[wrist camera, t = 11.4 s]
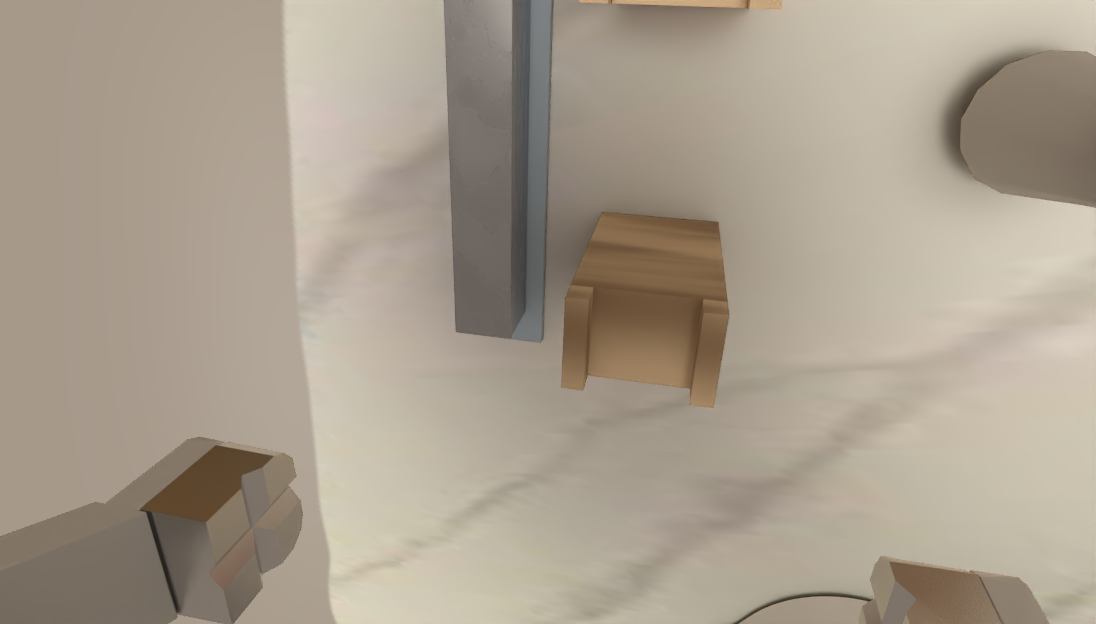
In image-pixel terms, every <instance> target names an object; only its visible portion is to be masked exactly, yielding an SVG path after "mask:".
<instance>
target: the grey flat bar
mask: <svg viewBox="0 0 1096 624" xmlns="http://www.w3.org/2000/svg"><path fill="white" fill-rule="evenodd" d="M552 22H553V0H531V25H530V85H529V145H528V205H527V265H526V311H525V313H524V315H523V317H522V318H521V320H520V322H519V324H518V326H517V328H516V329H515V331H514V333H513V335H512V337H511V339H516V340H524V341H532V342H540V343H541V342H542V340H543V318H544V285H545V253H546V220H547V187H548V154H549V121H550V88H551V55H552ZM459 333H461V332H459ZM467 334H469V333H467ZM475 335H477V334H475ZM483 336H485V335H483ZM491 337H493V336H491ZM499 338H501V337H499ZM508 339H509V338H508Z"/></svg>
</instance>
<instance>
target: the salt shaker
mask: <svg viewBox="0 0 1096 624" xmlns="http://www.w3.org/2000/svg"><path fill="white" fill-rule="evenodd" d="M960 150H961V152H962V154H963V156H964V159H965V161H966V163H967V165H968V167H969V169H970V171H971V173H972V175H973V176H974V178H975V179H977V180H979V181H980V182H982V183H984V184H986V185H987V186H989V187H991V188H993V189H995V190H996V191H998V192H1000V193H1004V194H1011V195H1018V196H1024V197H1031V198H1038V199H1045V200H1051V201H1058V202H1065V203H1072V204H1079V205H1084V206H1090V207H1095V208H1096V57H1095V56H1094V55H1092V54H1090V53H1088V52H1080V51H1044V52H1041V53H1038V54H1035V55H1032V56H1030V57H1027V58H1024V59H1021V60H1018V61H1016V62H1013V63H1010V64H1007V65H1006V66H1005V67H1003V68H1002V69H1001V70H1000V71H999V72H998V73H997V74H995V75H994V76H993V77H992V78H991V79H990V80H988V81H987V82H986V83H985V84H984V85H983V86H982V87H980V88H979V89H978V91H977V92H976V94H975V96H974V98H973V99H972V101H971V103H970V105H969V106H968V108H967V110H966V112H965V113H964V115H963V117H962V119H961V134H960Z"/></svg>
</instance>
